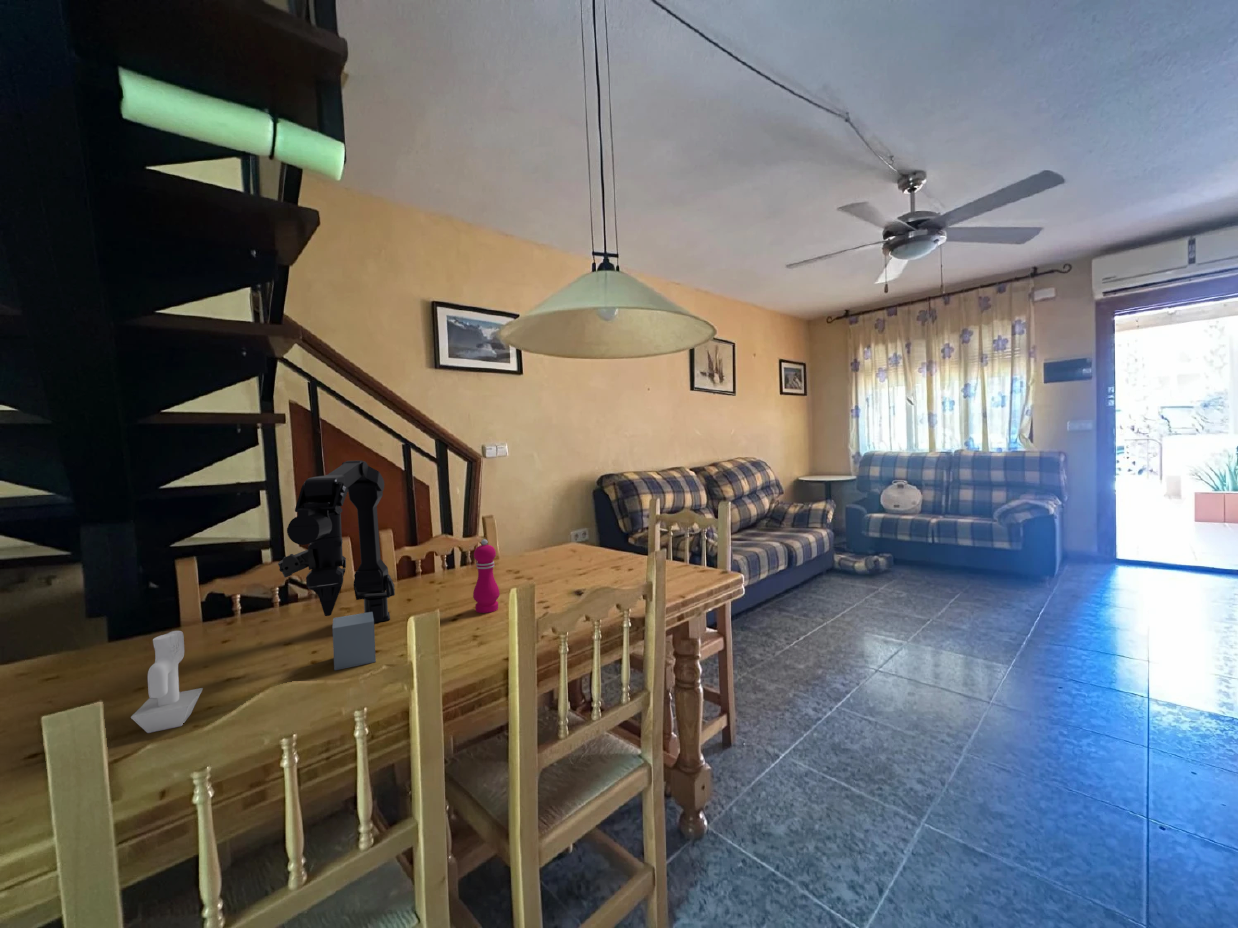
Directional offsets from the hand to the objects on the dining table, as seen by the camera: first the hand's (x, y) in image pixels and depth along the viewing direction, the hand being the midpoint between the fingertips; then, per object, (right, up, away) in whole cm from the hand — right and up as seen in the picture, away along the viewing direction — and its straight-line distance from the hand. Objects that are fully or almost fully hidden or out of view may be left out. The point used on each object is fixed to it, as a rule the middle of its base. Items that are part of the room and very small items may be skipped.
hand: (329, 609), depth 105 cm
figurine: (-14, -13, -22) cm, 29 cm away
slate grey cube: (+4, -12, +2) cm, 13 cm away
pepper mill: (+24, -11, +35) cm, 44 cm away
